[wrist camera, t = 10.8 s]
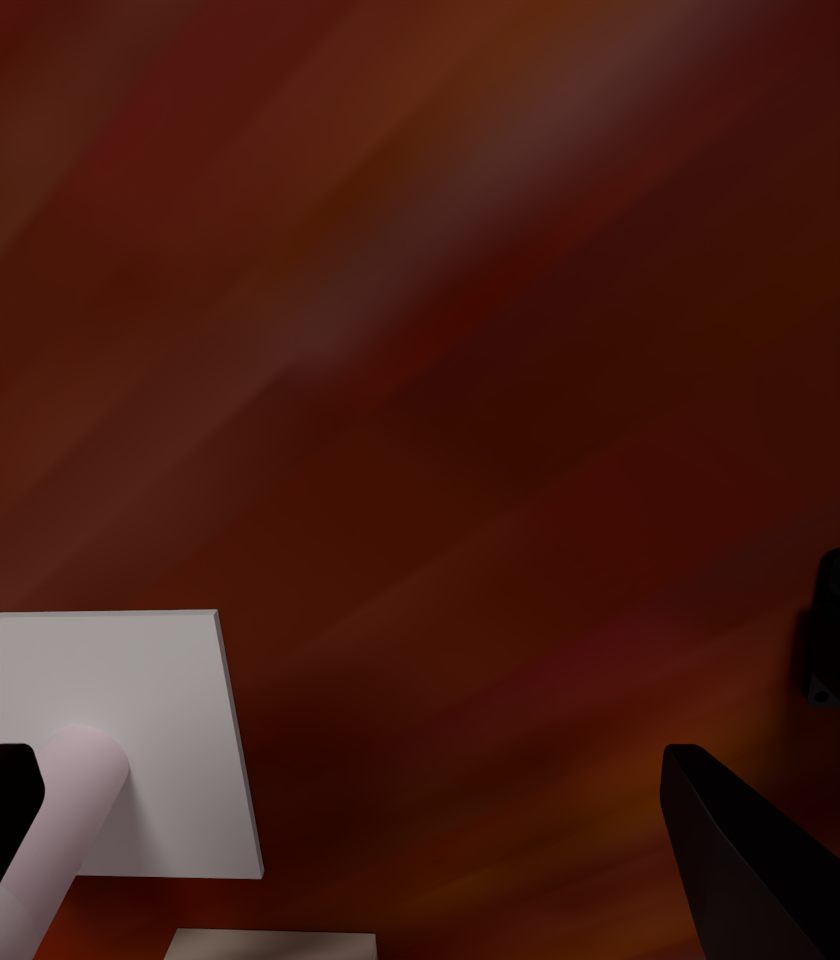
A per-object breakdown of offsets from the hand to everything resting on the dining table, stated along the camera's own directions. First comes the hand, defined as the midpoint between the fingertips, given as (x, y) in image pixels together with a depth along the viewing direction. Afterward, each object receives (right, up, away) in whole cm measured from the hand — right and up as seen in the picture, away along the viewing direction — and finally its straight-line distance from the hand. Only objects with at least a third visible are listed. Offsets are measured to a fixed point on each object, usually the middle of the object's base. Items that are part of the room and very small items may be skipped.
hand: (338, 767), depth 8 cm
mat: (-14, -8, +17) cm, 23 cm away
